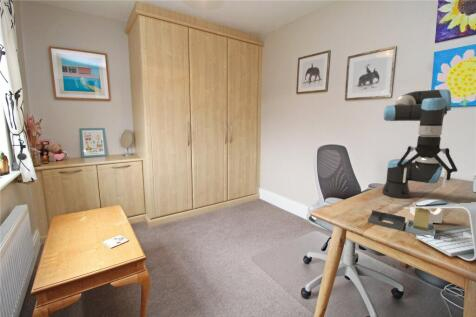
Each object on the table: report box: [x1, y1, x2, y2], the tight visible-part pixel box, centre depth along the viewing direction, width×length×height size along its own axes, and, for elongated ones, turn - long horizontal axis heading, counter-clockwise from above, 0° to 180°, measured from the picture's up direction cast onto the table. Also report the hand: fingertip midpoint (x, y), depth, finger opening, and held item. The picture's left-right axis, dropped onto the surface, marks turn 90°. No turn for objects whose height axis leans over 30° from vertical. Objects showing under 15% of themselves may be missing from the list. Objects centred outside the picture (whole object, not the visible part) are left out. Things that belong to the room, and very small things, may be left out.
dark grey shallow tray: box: [367, 209, 406, 232], centre depth 112 cm, size 10×14×3 cm
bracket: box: [409, 206, 444, 225], centre depth 116 cm, size 13×7×8 cm, turn 169°
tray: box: [405, 219, 436, 237], centre depth 104 cm, size 10×10×2 cm
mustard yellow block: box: [413, 206, 431, 231], centre depth 103 cm, size 5×5×10 cm
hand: (423, 184), depth 102 cm, fingers open, 13 cm apart
